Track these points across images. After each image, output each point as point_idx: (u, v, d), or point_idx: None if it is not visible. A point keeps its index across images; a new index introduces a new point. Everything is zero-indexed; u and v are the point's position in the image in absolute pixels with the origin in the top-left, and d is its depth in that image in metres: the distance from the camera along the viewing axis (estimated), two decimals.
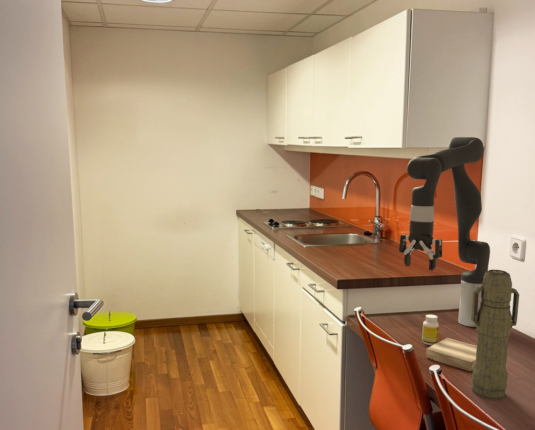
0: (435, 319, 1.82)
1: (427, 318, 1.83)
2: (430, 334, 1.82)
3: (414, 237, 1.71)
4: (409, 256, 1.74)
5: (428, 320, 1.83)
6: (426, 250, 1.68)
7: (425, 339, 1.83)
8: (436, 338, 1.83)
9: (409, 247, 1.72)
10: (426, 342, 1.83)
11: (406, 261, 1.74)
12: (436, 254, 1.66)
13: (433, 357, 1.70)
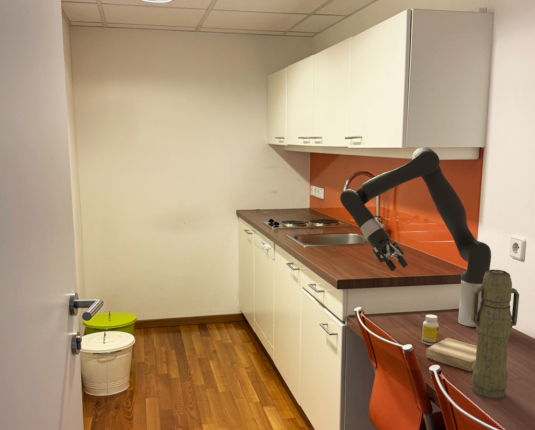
0: (435, 319, 1.82)
1: (427, 318, 1.83)
2: (430, 334, 1.82)
3: None
4: (400, 259, 1.95)
5: (428, 320, 1.83)
6: None
7: (425, 339, 1.83)
8: (436, 338, 1.83)
9: None
10: (426, 342, 1.83)
11: None
12: None
13: (433, 357, 1.70)
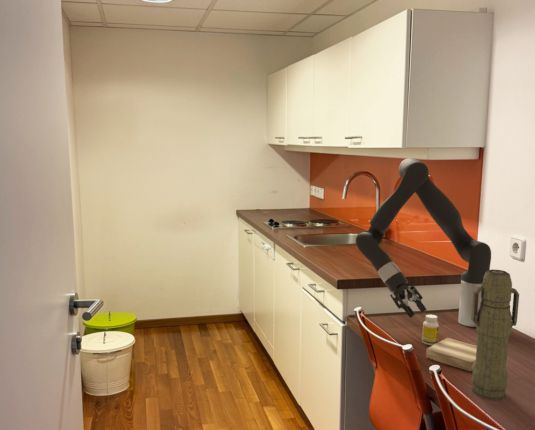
0: (435, 319, 1.82)
1: (427, 318, 1.83)
2: (430, 334, 1.82)
3: None
4: (419, 303, 1.91)
5: (428, 320, 1.83)
6: None
7: (425, 339, 1.83)
8: (436, 338, 1.83)
9: None
10: (426, 342, 1.83)
11: None
12: None
13: (433, 357, 1.70)
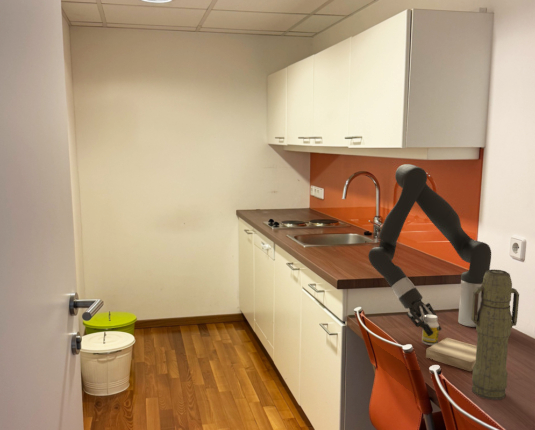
0: (435, 319, 1.82)
1: (427, 318, 1.83)
2: None
3: None
4: None
5: (428, 320, 1.83)
6: None
7: (425, 339, 1.83)
8: (436, 338, 1.83)
9: None
10: (426, 342, 1.83)
11: None
12: None
13: (433, 357, 1.70)
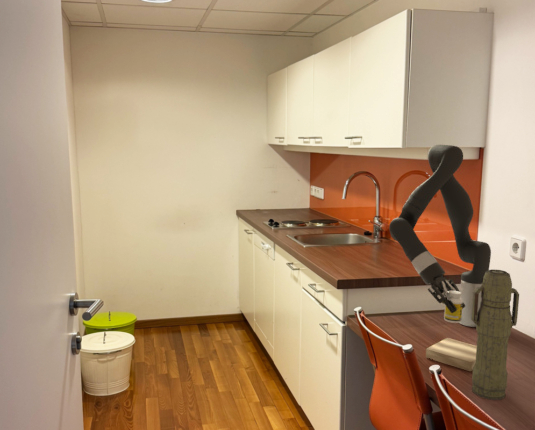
0: (459, 295, 1.70)
1: (450, 294, 1.71)
2: None
3: None
4: None
5: (451, 296, 1.71)
6: None
7: (448, 316, 1.71)
8: (460, 315, 1.71)
9: None
10: (449, 320, 1.71)
11: None
12: None
13: (433, 357, 1.70)
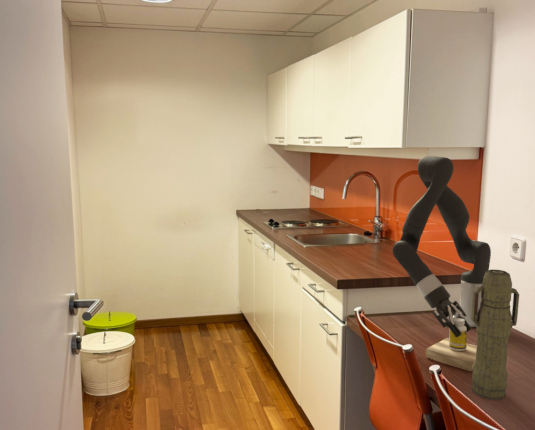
0: (462, 322, 1.69)
1: None
2: (458, 338, 1.69)
3: None
4: None
5: (455, 324, 1.70)
6: None
7: (453, 345, 1.70)
8: (464, 343, 1.69)
9: None
10: (454, 348, 1.70)
11: None
12: None
13: (433, 357, 1.70)
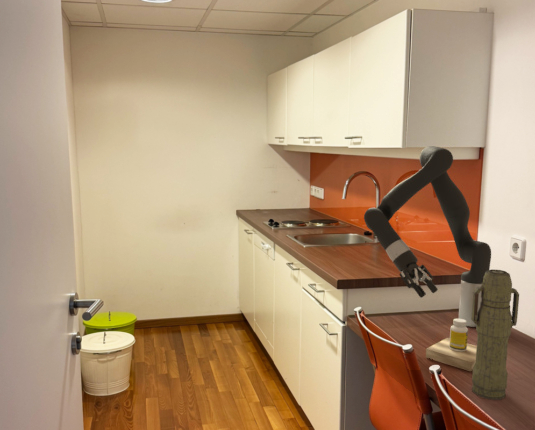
0: (464, 323, 1.69)
1: (455, 322, 1.70)
2: (459, 339, 1.69)
3: None
4: (429, 283, 1.81)
5: (456, 324, 1.70)
6: None
7: (453, 345, 1.70)
8: (465, 344, 1.69)
9: None
10: (454, 348, 1.70)
11: None
12: None
13: (433, 357, 1.70)
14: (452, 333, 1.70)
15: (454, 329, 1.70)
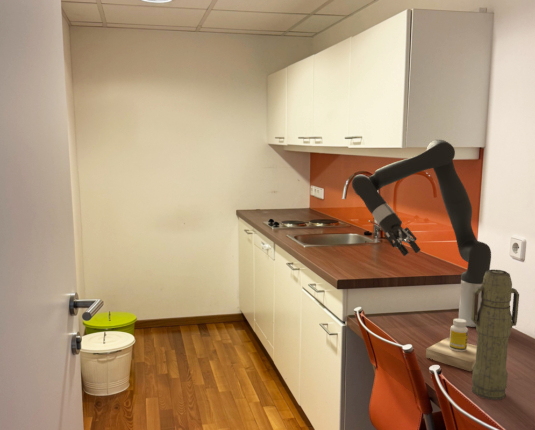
0: (464, 323, 1.69)
1: (455, 322, 1.70)
2: (459, 339, 1.69)
3: None
4: (413, 244, 1.94)
5: (456, 324, 1.70)
6: None
7: (453, 345, 1.70)
8: (465, 344, 1.69)
9: None
10: (454, 348, 1.70)
11: None
12: None
13: (433, 357, 1.70)
14: (452, 333, 1.70)
15: (454, 329, 1.70)
